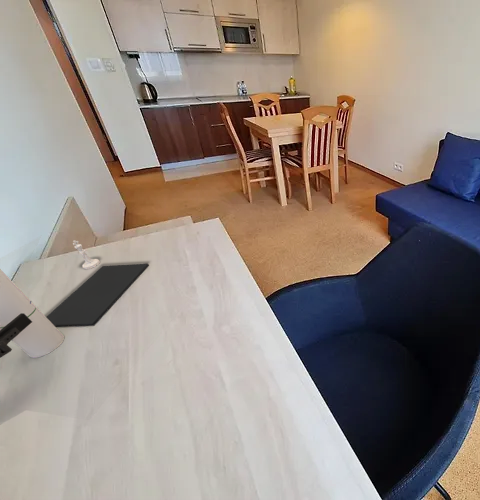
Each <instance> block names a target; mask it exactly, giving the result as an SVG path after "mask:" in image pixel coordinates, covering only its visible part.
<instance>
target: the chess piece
mask: <svg viewBox="0 0 480 500" xmlns="http://www.w3.org/2000/svg"><path fill="white" fill-rule="evenodd" d="M79 242H80V241H79V240H73V241H72V245H73V246H74V249H76V250H77V251H78V252H77V253H78V254H79V255H80V254H81V255H82V257H83V259H84V263H82V264H81V265H82V269H83V270H90V269H93V268H95V267H97V266H98V265H100V263H101V261H100V260H99V259H98V258H92V257H90V256H89V255H88V254H87V253H86V252H87V250H86V249H84V248H83V245H82V244H81V243H79ZM96 265H97V266H96Z"/></svg>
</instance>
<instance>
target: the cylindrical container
mask: <svg viewBox="0 0 480 500" xmlns="http://www.w3.org/2000/svg"><path fill="white" fill-rule="evenodd" d="M21 313H24V314H25V315H26V316H27V317H28V318H29V319H30V320H31V321H32V323H31V324H29V325H28V326H27V327H26V328H25V329H24V330H23V331H21V332H20V333H19V334H18V335H17V336H16V337H15V338H14V339H13V340H11V342H13V343H14V344H15V345H16V346H17V347H18V348H20V350H21V351H23V352H24V353H25V354H26V355H27V356H28V357H29V358H34V359H36V358H41V357H44V356H46V355H48V354H50V353H52V352H53V351H55V350H57V348H59V347H60V346H61V345H62V343H63V342H64V341H65V335H64V334H63V333H62V332H61V331H60V330H59V329H58V327H55V326H54V325H53V324H52V323H51V322H50V321H49V320H48V319H47V318H46V316H47V315H45V314H44V313H43V312H42V311H41V310H40V309H39V308H38V307H37V306H36V305H35V304H34V303H33V302H32V300H30V298H29V297H28V296H27V295H26V294H25V293H24V292H23V291H22V290H21V289H20V288H19V287H18V286H17V285H16V284H15V283H14V281H13V280H12V279H11V278H9V276H8V275H7V274H6V273H5V272H4V271H3V270H2V268H0V330H1V329H2V328H4V327H5V326H6V325H7V324H8V323H10V322H11V321H12V320H13V319H15V318H16V317H17V316H18V315H19V314H21Z"/></svg>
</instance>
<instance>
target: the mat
mask: <svg viewBox="0 0 480 500" xmlns="http://www.w3.org/2000/svg"><path fill="white" fill-rule="evenodd" d="M148 267H150V264H149V263H131V264H112V265H111V264H110V265H109V264H108V265H102V266H100V268H99V269H98V270H97V271H95V272H94V273H93V274H92V275H91V276H89V278H88V279H86V280H85V281H84V282H83V283H81V285H80V286H79V287H77V288H76V289H75V290H74V291H73V292H72V293H71V294H70V295H69V296H67V297H66V298H65V299H64V300H63V301H62V302H61V303H60V304H58V305H57V306H56V307H55V308H54V309H52V311H51V312H49V314H47V315H45V316H46V318H47V319H48V320H49V321H50V322H51V323H52V324H53V325H54V326H55V327H56V328H65V327H88V326H90V327H91V326H93V327H94V326H95V325H96V324H97V323H98V322H99V321H100V319H102V318H103V316H104V315H105V314H106V313H107V312H108V311H109V310H110V309H111V308H112V307H113V305H114V304H115V303H116V302H117V301H118V300H119V299H120V298H121V297H122V296H123V295H124V293H125V292H126V291H127V290H128V289H129V288H130V287H131V286H132V285H133V283H134V282H135V281H136V280H137V279H138V278H139V277H140V276H141V275H142V274H143V273H144V271H145V270H146V269H147V268H148Z"/></svg>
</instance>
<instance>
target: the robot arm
mask: <svg viewBox="0 0 480 500" xmlns="http://www.w3.org/2000/svg"><path fill="white" fill-rule="evenodd" d="M31 323H32V321H31V320H30V319H29V318H28V317H27V316H26V315H25V314H24V313H21V314H19V315H18V316H17V317H16V318H15V319H13V320H12V321H11V322H10V323H8V324H7V325H6V326H5V327H4V328H2V329H1V330H0V359H1V358H3V357H5V356H6V355H7V354H10V352H12V351H13V349H12V348H11V347H10V346H9V344H10V342H12V340H13V339H14V338H15V337H16V336H17V335H18V334H19V333H20V332H21V331H23V330H24V329H25V328H26V327H27V326H28V325H29V324H31Z"/></svg>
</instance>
